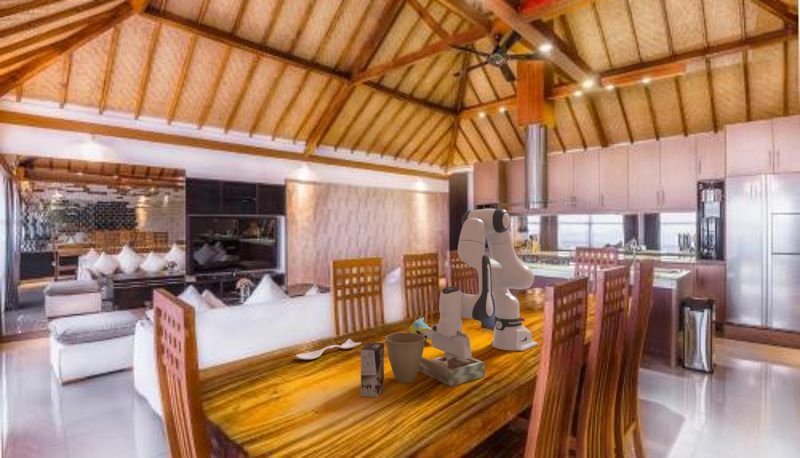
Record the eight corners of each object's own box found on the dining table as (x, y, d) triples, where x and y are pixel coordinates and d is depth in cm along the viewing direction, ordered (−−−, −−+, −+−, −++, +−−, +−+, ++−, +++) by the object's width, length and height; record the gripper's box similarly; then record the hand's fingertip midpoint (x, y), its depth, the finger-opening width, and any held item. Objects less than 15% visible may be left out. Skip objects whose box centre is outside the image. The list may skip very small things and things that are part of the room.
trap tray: (447, 361, 177) (447, 348, 177) (484, 376, 159) (484, 362, 159) (415, 369, 168) (415, 355, 168) (450, 386, 150) (450, 371, 150)
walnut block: (460, 367, 162) (460, 357, 162) (470, 371, 157) (470, 361, 157) (448, 370, 159) (448, 360, 159) (458, 375, 154) (458, 364, 154)
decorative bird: (416, 346, 199) (416, 327, 199) (400, 331, 228) (400, 314, 228) (443, 344, 203) (443, 325, 203) (424, 329, 232) (424, 312, 232)
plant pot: (397, 390, 147) (396, 345, 147) (379, 376, 160) (379, 335, 160) (432, 382, 154) (432, 339, 153) (413, 370, 167) (412, 330, 167)
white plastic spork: (361, 348, 197) (361, 341, 197) (302, 364, 175) (302, 356, 175) (350, 344, 204) (350, 337, 204) (291, 359, 181) (291, 352, 181)
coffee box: (378, 397, 140) (378, 350, 140) (360, 396, 142) (359, 349, 141) (385, 387, 149) (384, 342, 149) (367, 386, 150) (367, 341, 150)
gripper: (475, 333, 155) (475, 370, 155) (440, 323, 172) (440, 356, 172) (462, 336, 152) (462, 373, 152) (428, 325, 169) (428, 359, 169)
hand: (450, 364), depth 162 cm, fingers closed
